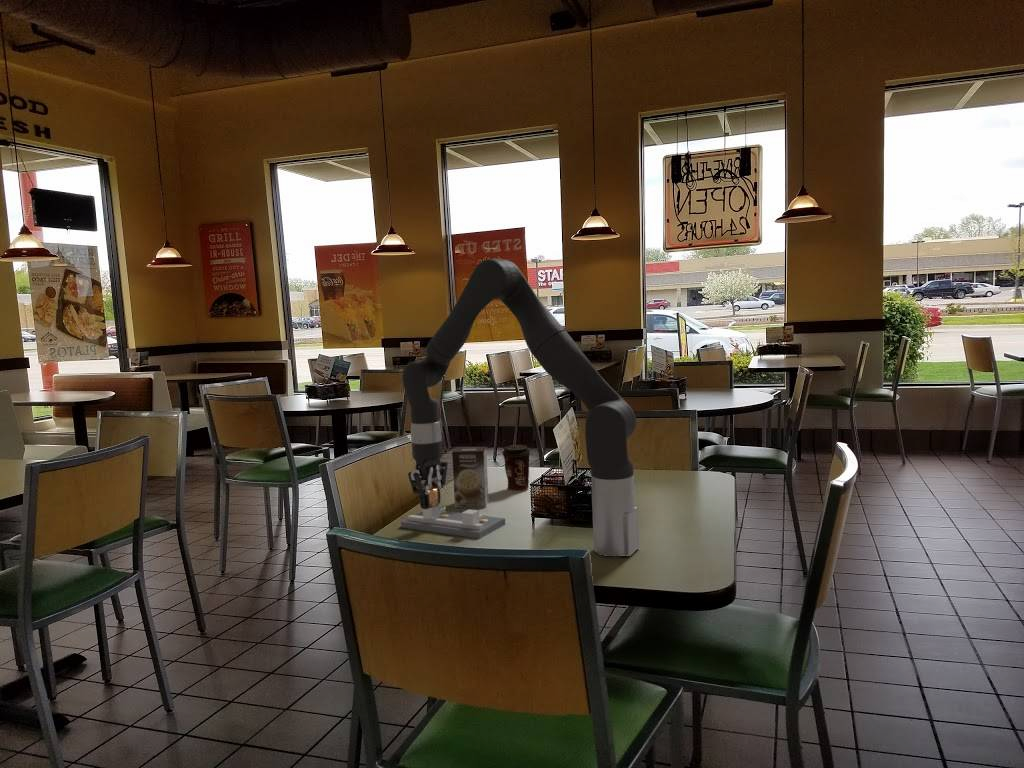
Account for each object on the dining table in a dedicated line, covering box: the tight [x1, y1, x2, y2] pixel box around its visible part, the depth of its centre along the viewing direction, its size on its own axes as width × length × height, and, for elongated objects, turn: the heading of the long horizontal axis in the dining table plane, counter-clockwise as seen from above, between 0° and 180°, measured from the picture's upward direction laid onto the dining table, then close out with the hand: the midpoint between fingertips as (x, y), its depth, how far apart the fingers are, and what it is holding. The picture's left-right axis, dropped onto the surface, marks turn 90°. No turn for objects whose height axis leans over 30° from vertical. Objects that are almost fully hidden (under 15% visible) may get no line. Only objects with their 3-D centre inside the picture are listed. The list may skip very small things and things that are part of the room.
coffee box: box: [451, 446, 490, 509], centre depth 203 cm, size 9×6×16 cm
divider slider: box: [422, 486, 447, 520], centre depth 185 cm, size 4×8×8 cm, turn 150°
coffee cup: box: [502, 444, 531, 493], centre depth 217 cm, size 9×8×13 cm
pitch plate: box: [400, 509, 506, 539], centre depth 185 cm, size 24×12×6 cm, turn 60°
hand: (430, 505), depth 184 cm, fingers closed on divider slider, 4 cm apart
